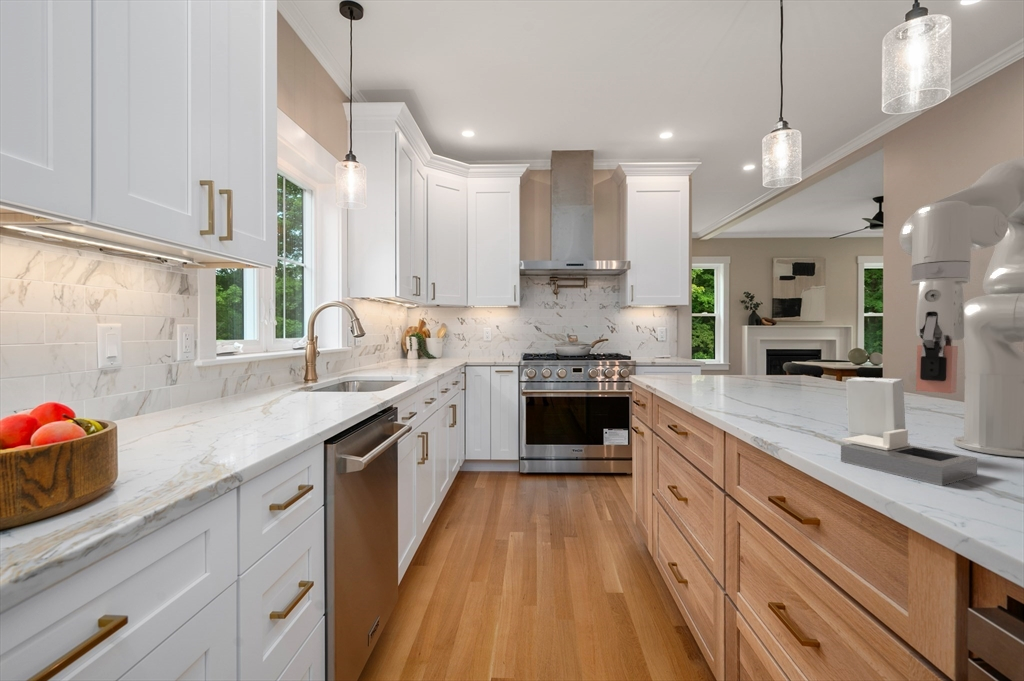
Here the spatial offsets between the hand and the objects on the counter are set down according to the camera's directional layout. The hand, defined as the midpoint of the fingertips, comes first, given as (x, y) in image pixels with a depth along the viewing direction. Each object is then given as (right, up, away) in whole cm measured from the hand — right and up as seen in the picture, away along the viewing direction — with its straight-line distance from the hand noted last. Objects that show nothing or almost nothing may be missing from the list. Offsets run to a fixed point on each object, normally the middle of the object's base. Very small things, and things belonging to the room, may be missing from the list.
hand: (936, 378), depth 79 cm
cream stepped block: (-5, -13, +7) cm, 16 cm away
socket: (-4, -16, +2) cm, 17 cm away
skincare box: (0, -16, +14) cm, 21 cm away
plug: (0, -2, 0) cm, 2 cm away
